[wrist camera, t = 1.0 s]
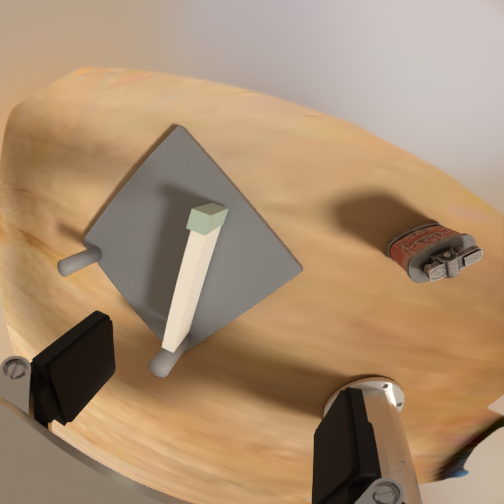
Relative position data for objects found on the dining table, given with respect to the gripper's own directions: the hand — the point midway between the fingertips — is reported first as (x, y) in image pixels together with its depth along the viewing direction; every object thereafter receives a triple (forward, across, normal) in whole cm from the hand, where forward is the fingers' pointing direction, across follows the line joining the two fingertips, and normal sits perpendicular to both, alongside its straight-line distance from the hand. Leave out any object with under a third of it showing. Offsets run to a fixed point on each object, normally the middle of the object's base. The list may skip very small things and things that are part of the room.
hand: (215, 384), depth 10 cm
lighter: (+23, -16, -5) cm, 28 cm away
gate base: (+22, +11, +4) cm, 25 cm away
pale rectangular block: (+20, +7, +5) cm, 22 cm away
